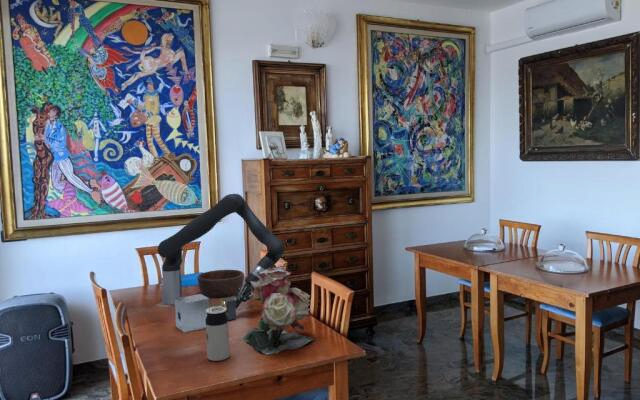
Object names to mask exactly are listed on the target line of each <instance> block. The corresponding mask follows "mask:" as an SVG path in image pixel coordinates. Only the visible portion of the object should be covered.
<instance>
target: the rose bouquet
mask: <svg viewBox="0 0 640 400" xmlns="http://www.w3.org/2000/svg"><path fill="white" fill-rule="evenodd" d="M286 269H287V268H286V267H285V266H284V265H282V264H280V265H278V266H276V267H275V266H274V267H273V268H269V269H266V270H265V271H262V272H257V274H258V275H259V276H260V277H261V279H259V281H250V282H251V284H252V286H253V288H254V291H255V292H256V293H257V296H255V297H254V296H253V297H252V298H250V300H256V301H261V303H260V304H257V305H259V306H260V305H263V307H262V311H261V312H260V313H261V318H260V319H258V317H257V318H255V319H256V320H257V322H258V325H257V326H255V327H253V328H252V329H249V330H248V331H247V333H246V334H245V335H244V337H243V338H242V340H243V341H244V342H245V343H246V344H247V345H249V346H250V347H253V348H254V350H256V351H257V352H259V353H262V354H263V355H266V356H268V355H272V354H276V355H279V353H280V352H282V351H285V350H296V349H300V348H302V347H304V346H305V345H306V344H308V343H310V342H313V341H315V339H314V338H313V337H311V336H306V335H302V334H298V333H297V332H296V329H295V328H297V329H299V330H300V331H301V332H302V333H305V332H306V331H305V326H304V325H303V324H301V322H299V320H305V319H306V318H307V317H310V313H309V311H311V308H309V306H310V305H311V304H310V302H311V300H310V298H311V295H309V294H308V293H307V292H305V291H302V290H301V289H300V288H297V287H290V286H291V284H292V283H291V281H288V280H289V277H290V275H291V271H287V270H286ZM254 306H255V305H254V304H250V305H248V307H249V308H254ZM290 327H291V328H292V329H293V331H292V332H288V331H285V330H288V329H290ZM279 341H280V342H281V343H280V342H279Z"/></svg>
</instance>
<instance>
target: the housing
mask: <svg viewBox="0 0 640 400" xmlns="http://www.w3.org/2000/svg"><path fill="white" fill-rule="evenodd" d="M210 304H211V303H210V297H208V296H205V295H203V294H202V293H200V294H199V293H198V294H193V295H189V296H188V295H187V296H182V298H176V299H175V305H174V312H175V327H176V328H177V329H179V330H180V331H181V332H183V333H184V334H185V333H189V332H194V331H198V330H202V329H206V320H205V319H206V317H207V313H206V310H207V309H208V308H210V307H211V306H210Z"/></svg>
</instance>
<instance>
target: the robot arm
mask: <svg viewBox="0 0 640 400" xmlns="http://www.w3.org/2000/svg"><path fill="white" fill-rule="evenodd" d="M234 213H235V214H237V215H238V216H239V217H240V218H242V220H244V222H245V224H246V226H247V227H248V229H249V231H250V233H251V234H252V235H253V236H254V237H255V238H256V239H257V240H258V242H260V243H261V244H262V245H265V247H266V248H267V249H269V250H268V251H267V252H266V253H265V255H264V256H262V257H261V259H260V260H259V261H258V263H256V265H255V266H254V267H253V268H252V269H251V271H250V272H249V274H248V275H247V276H246V277H245V278H244V282H245V283H243V286H242V288H240V287H238V289H237V293H236V294H235V303H236V310H237V309H238V307H240V305H241V303H246V302H247V301H249V300H251V298H254V296H255V295H254V293H253V292H254V291H255V290H254V288H253V286H252V284H251V282H250V281H259V279H261V277H260V276H259V275H258V274H257V272H262V271H265V270H266V269H269V268H275V266H276V265H277V263H278V262H279V261H280V259H281V258H282V257H283V256H284V254H285V250H286V246H285V244H284V243H283V241H282V240H281V239H279V238H278V237H277V236H276V235H275V234H273V233H272V231H271V230H270V229H269V228H268V227H267V226H266V225H265V224H264V223H263V222H262V221H261V220H260V219H259V218H258V217H257V215H256V214H255V213H254V211H253V210H252V209H251V207H250V206H249V205H248V203H247V201H246V200H245V199H244V197H243V196H242V195H241V194H239V193H229V194H226V195H225V196H224V197H222V198H221V199H220V200H219V201H218V202H217V203H216V204H215V205H213V206H212V207H210V208H209V209H207V210H205V211H204V212H203V213H201V214H199V215H198V216H196V217H195V218H194V219H192V220H191V221H190V222H188V223H187V224H186V225H184V226H183V227H182V228H181V229H180V230H179V231H177V232H175V233H174V234H173V235H171V236H169V237H168V238H165V239H164V240H162V241H160V242H159V244H158V247H157V253H158V255H159V256H160V257H162V258H164V259H165V260H164V262H163V264H162V265H161V270H162V278H163V284H162V285H161V298H162V299H161V301H162V305H166V306H175V299H176V298H182V297H183V287H182V279H181V275H182V267H181V266H182V263H183V247H184V246H186V245H188V244H190V243H191V242H194V241H197V240H198V239H200V238H201V237H203V236H204V235H206V234H208V232H210V231H211V230H213V229H214V227H215V226H216V225H217V224H218V222H219V221H221V220H222V219H224V218H226V217H227V216H229V215H231V214H234Z"/></svg>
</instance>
